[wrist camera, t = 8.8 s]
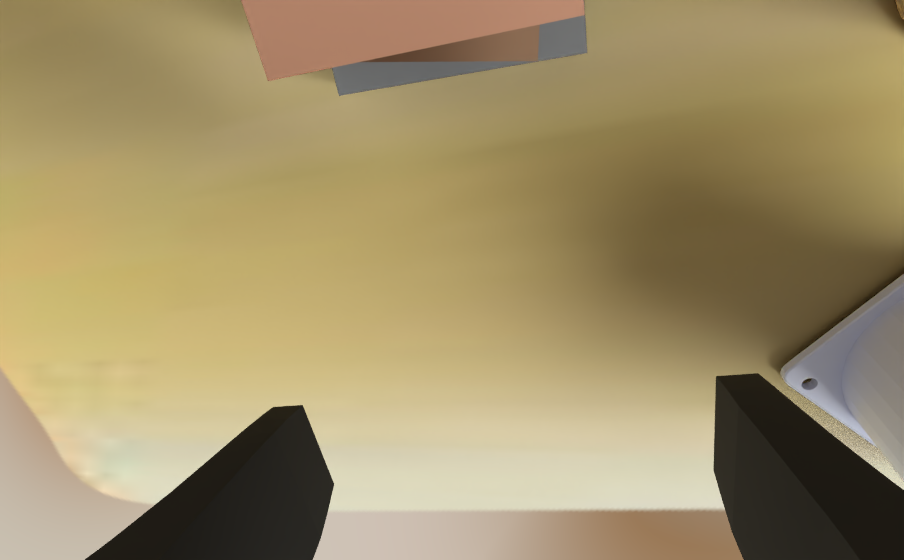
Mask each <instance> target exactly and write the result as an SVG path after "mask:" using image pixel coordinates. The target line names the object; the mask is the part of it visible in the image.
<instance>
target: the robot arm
mask: <svg viewBox="0 0 904 560" xmlns="http://www.w3.org/2000/svg"><path fill="white" fill-rule="evenodd" d="M780 373H781V377H782V378H783V380H784V381H785V382H786V384H787V385H789V386H790V387H791V388H793V389H794V390H796V391H797V392H798V393H800V394H801V395H803V396H804V397H806V398H807V399H808V400H810V401H811V402H813V403H814V404H816V405H817V406H818V407H820V408H821V409H823V410H824V411H826V412H827V413H828V414H830V415H831V416H833V417H834V418H835V419H837V420H838V421H840V422H841V423H843V424H844V425H845V426H847V427H848V428H850V429H851V430H853V431H854V432H855V433H857V434H858V435H860V436H861V437H862V438H864V439H865V440H867V441H868V442H870V443H871V444H872V445H874V446H875V447H877V448H878V449H879V450H880V451H881V453H882V454H883V455H884V457H885V458H886V459H887V461H888V462H889V463H890V465H891V466H892V467H893V468H894V470H895V471H896V472H897V474H898V475H899V476H900V478H901V479H902V480H903V482H904V274H903V275H901V276H900V277H899V278H897V279H896V280H895V281H893V282H892V283H891V284H890V285H888V286H887V287H886V288H884V289H883V290H882V291H880V292H879V293H878V294H876V295H875V296H874V297H873V298H871V299H870V300H869V301H867V302H866V303H865V304H863V305H862V306H861V307H859V308H858V309H857V310H856V311H854V312H853V313H852V314H850V315H849V316H848V317H846V318H845V319H844V320H842V321H841V322H840V323H839V324H837V325H836V326H835V327H833V328H832V329H831V330H829V331H828V332H827V333H825V334H824V335H823V336H822V337H820V338H819V339H818V340H816V341H815V342H814V343H812V344H811V345H810V346H808V347H807V348H806V349H805V350H803V351H802V352H801V353H799V354H798V355H797V356H795V357H794V358H793V359H791V360H790V361H789V362H788V363H786V364H785V365H784V366H783V367H782V369H781V372H780ZM808 378H812V379H811V381H809V382H807V383H802V382H803V381H804V380H806V379H808ZM714 473H715V476H716V480H717V483H718V487H719V490H720V494H721V497H722V501H723V504H724V507H725V510H726V514H727V517H728V520H729V523H730V526H731V530H732V533H733V535H734V538H735V540H736V542H737V545H738V547H739V550H740V552H741V554H742V557H743V559H744V560H904V490H903V489H902V488H900V487H899V486H897V485H896V484H895V483H893V482H892V481H891V480H890V479H888V478H887V477H886V476H884V475H883V474H882V473H880V472H879V471H878V470H877V469H875V468H874V467H873V466H871V465H870V464H869V463H868V462H866V461H865V460H864V459H862V458H861V457H860V456H858V455H857V454H856V453H855V452H853V451H852V450H851V449H849V448H848V447H847V446H846V445H844V444H843V443H842V442H841V441H839V440H838V439H837V438H836V437H834V436H833V435H832V434H831V433H829V432H828V431H827V430H826V429H825V428H823V427H822V426H821V425H820V424H818V423H817V422H816V421H815V420H814V419H812V418H811V417H810V416H809V415H807V414H806V413H805V412H804V411H803V410H801V409H800V408H799V407H798V406H797V405H795V404H794V403H793V402H792V401H791V400H789V399H788V398H787V397H786V396H785V395H784V394H782V393H781V392H780V391H779V390H778V389H776V388H775V387H774V386H773V385H771V384H770V383H769V382H768V381H767V380H765V379H764V378H763V377H762V376H760V375H759V374H758V373H757V374H742V375H728V376H716V401H715V438H714ZM333 486H334V483H333V480H332V478H331V475H330V473H329V470H328V468H327V465H326V463H325V460H324V458H323V455H322V453H321V450H320V448H319V445H318V443H317V440H316V438H315V435H314V433H313V430H312V428H311V425H310V423H309V420H308V418H307V415H306V413H305V410H304V408H303V405H298V406H283V407H273V408H271V409H270V410H269V411H267V412H266V413H265V414H263V415H262V416H261V417H260V418H258V419H257V420H256V421H255V422H253V423H252V424H251V425H250V426H248V427H247V428H246V429H245V430H244V431H242V432H241V433H240V434H239V435H238V436H237V437H235V438H234V439H233V440H232V441H231V442H229V443H228V444H227V445H226V446H225V447H224V448H222V449H221V450H220V451H219V452H218V453H217V454H215V455H214V456H213V457H212V458H211V459H210V460H208V461H207V462H206V463H205V464H204V465H203V466H201V467H200V468H199V469H198V470H197V471H195V472H194V473H193V474H192V475H191V476H190V477H188V478H187V479H186V480H185V481H184V482H182V483H181V484H180V485H179V486H178V487H177V488H175V489H174V490H173V491H172V492H171V493H169V494H168V495H167V496H166V497H164V498H163V499H162V500H161V501H159V502H158V503H157V504H156V505H154V506H153V507H152V508H151V509H149V510H148V511H147V512H146V513H144V514H143V515H142V516H141V517H139V518H138V519H137V520H136V521H134V522H133V523H132V524H131V525H130V526H128V527H127V528H126V529H124V530H123V531H122V532H121V533H119V534H118V535H117V536H116V537H114V538H113V539H112V540H111V541H109V542H108V543H107V544H105V545H104V546H103V547H101V548H100V549H99V550H97V551H96V552H95V553H93V554H92V555H90V556H89V557H88V558H86V559H85V560H313V557H314V555H315V552H316V549H317V547H318V544H319V541H320V538H321V535H322V531H323V527H324V524H325V520H326V516H327V512H328V508H329V504H330V499H331V495H332V491H333Z"/></svg>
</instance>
